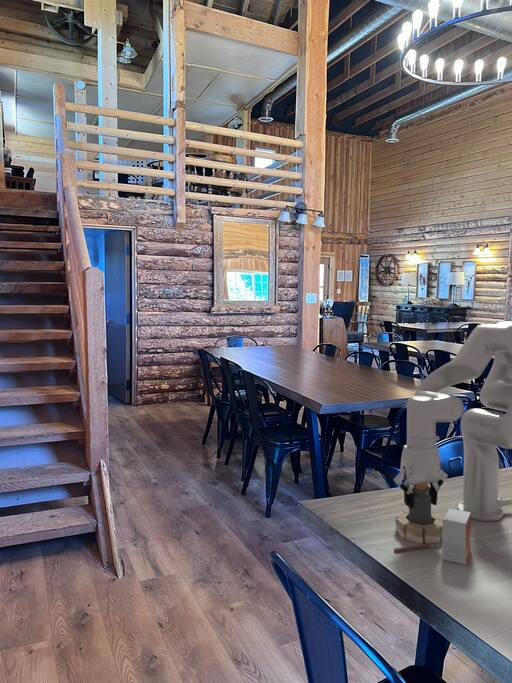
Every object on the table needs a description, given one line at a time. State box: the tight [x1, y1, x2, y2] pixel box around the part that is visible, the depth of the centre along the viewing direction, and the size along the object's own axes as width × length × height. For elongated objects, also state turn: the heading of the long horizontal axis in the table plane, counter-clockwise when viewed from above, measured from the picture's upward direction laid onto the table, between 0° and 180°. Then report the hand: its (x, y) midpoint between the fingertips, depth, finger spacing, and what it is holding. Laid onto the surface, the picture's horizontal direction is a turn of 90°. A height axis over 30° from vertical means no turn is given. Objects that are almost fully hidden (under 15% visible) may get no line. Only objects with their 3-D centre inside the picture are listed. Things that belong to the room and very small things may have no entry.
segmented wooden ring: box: [395, 509, 444, 545], centre depth 140 cm, size 12×12×4 cm
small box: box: [441, 507, 472, 566], centre depth 127 cm, size 8×6×10 cm
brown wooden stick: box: [393, 543, 432, 554], centre depth 130 cm, size 10×1×1 cm, turn 102°
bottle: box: [408, 483, 432, 525], centre depth 139 cm, size 6×6×15 cm
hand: (420, 504), depth 139 cm, fingers open, 6 cm apart
